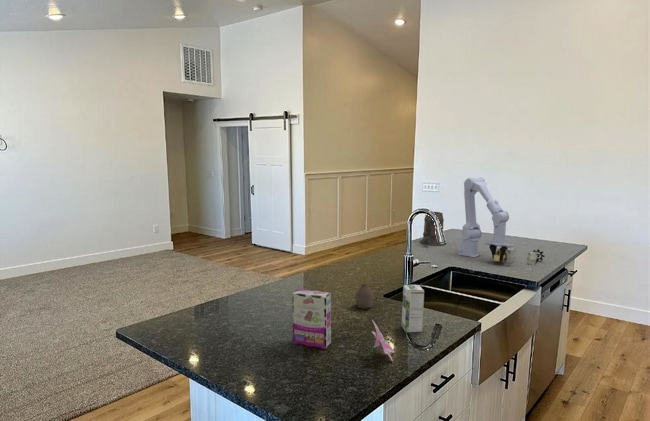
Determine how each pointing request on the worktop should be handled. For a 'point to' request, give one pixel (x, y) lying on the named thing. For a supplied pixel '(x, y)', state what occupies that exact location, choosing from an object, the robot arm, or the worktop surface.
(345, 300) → the worktop surface
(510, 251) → the housing
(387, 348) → the lily
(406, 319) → the syrup box
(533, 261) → the valve
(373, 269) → the worktop surface
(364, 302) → the vase
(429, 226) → the tankard
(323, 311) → the candy bar box
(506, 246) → the robot arm
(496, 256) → the gold rounded block
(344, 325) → the worktop surface
